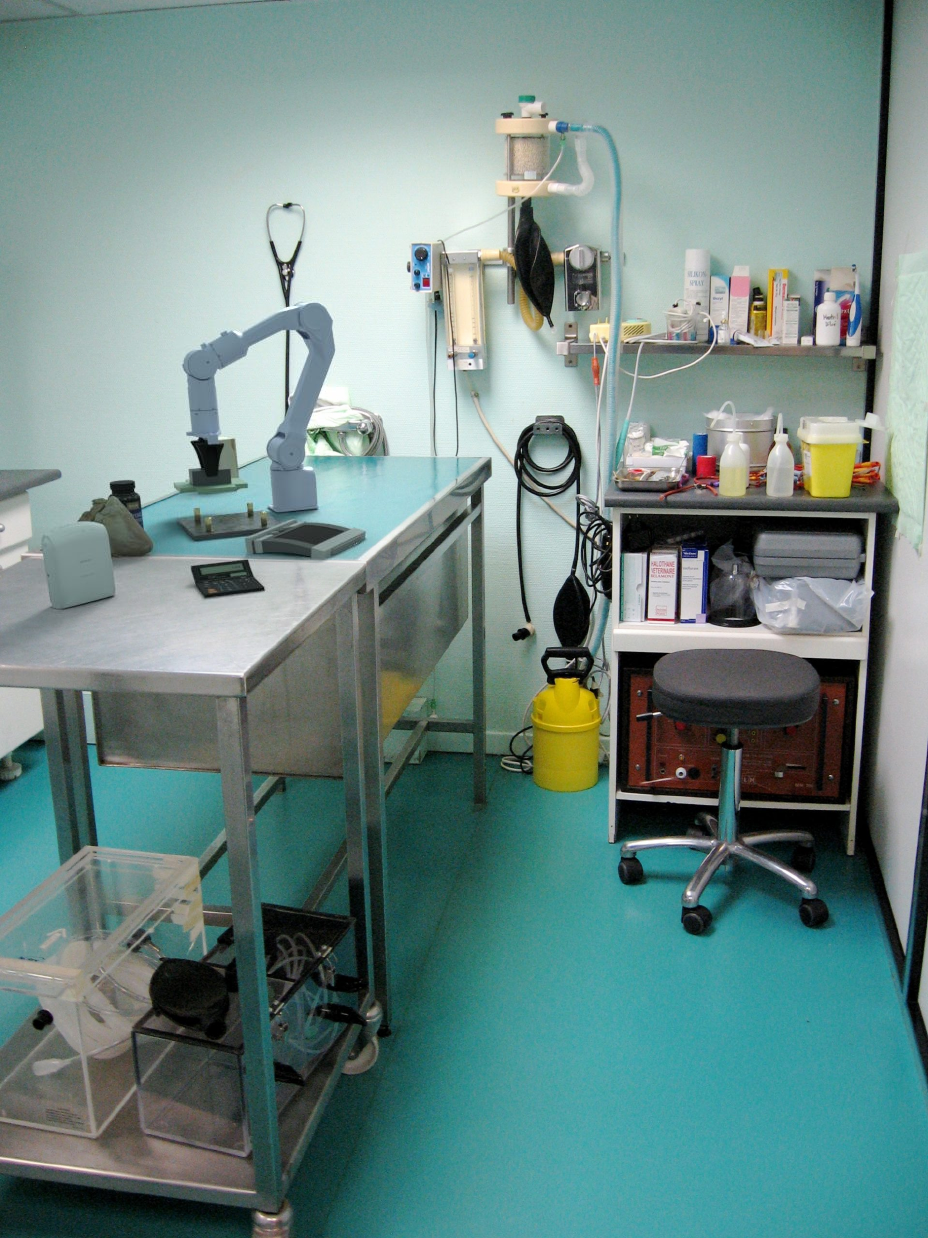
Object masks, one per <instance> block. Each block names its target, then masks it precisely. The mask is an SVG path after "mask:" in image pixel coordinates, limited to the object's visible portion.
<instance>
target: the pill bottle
mask: <svg viewBox="0 0 928 1238" xmlns="http://www.w3.org/2000/svg"><path fill="white" fill-rule="evenodd" d="M135 489H136V481H135V480H131V479H122V480H114V481H113V480H112V481H111V482H109V490H111V493H110V494H109V495H108V496H107V499H109V497H111V496H114V497H116V498H117V499H118V500H119V501H120V502H121V503H122V504H123V505H124V506H125V507H126V508H127V510H128V511H129V512H130V513H131V515H132V516H133V517H134V518H135V520H136V521H137V522H138V523H139V525H140V526H141V527H142V528H143V530H144V531H145V527H144V519H143V518H144V517H143V509H142V502H141V501H142V500H141V495H140V494H139V493H138V492H136V490H135Z"/></svg>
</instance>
